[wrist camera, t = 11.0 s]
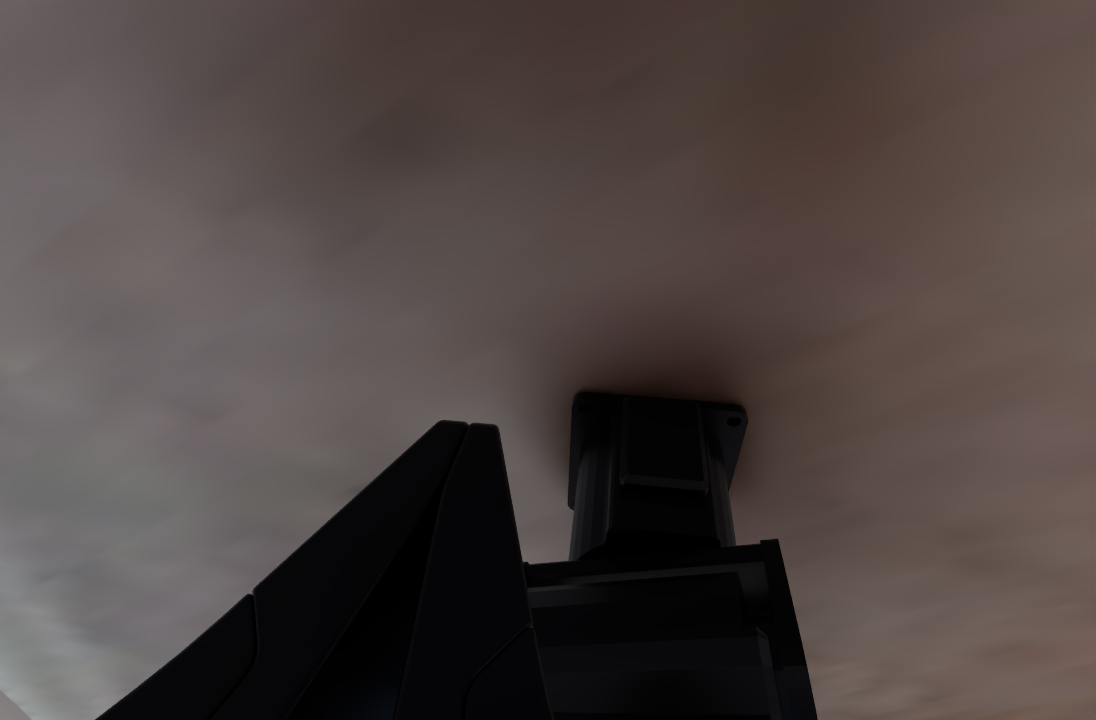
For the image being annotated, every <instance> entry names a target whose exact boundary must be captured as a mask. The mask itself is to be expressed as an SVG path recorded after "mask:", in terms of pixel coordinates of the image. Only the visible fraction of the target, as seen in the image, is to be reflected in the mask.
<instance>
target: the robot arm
mask: <svg viewBox="0 0 1096 720" xmlns="http://www.w3.org/2000/svg"><path fill="white" fill-rule="evenodd" d="M585 403H586V404H589V405H590V406H589V407H585V406H582V405H581V404H585ZM730 417H738V418H736V419H732V420H731V419H728V418H730ZM747 424H748V418H747V413H746V410H745V409H744V408H743V407H742V406H740V405H736V404H725V403H713V402H701V401H690V400H678V399H666V398H654V397H643V396H631V395H619V394H608V393H596V392H580V393H578V394H577V395H576V396H575V397H574V399H573V404H572V420H571V442H570V464H569V486H568V506H569V507H570V509H572V510H574V516H573V525H572V534H571V543H570V552H569V561H561V562H550V563H539V564H529V563H528V562H523V561H522V556H521V550H520V544H519V539H518V533H517V527H516V522H515V516H514V511H513V505H512V499H511V494H510V488H509V483H508V477H507V471H506V466H505V460H504V455H503V449H502V443H501V438H500V432H499V428H498V426H497V425H494V424H484V423H472V424H470V425H469V424H467V423H466V422H462V421H451V420H441V421H439V422H437V423H436V424H435V425H434V426H433V427H432V428H431V429H429V430H428V431H427V432H426V433H425V434H424V435H423V436H422V437H421V438H419V439H418V440H417V441H416V442H415V443H414V444H413V445H412V446H411V447H409V448H408V449H407V450H406V451H405V452H404V453H403V454H402V455H401V456H400V457H398V458H397V459H396V460H395V461H394V462H393V463H392V464H391V465H390V466H388V467H387V468H386V469H385V470H384V471H383V472H382V473H381V474H380V475H379V476H377V477H376V478H375V479H374V480H373V481H372V482H371V483H370V484H369V485H367V486H366V487H365V488H364V489H363V490H362V491H361V492H360V493H359V494H358V495H356V496H355V497H354V498H353V499H352V500H351V501H350V502H349V503H348V504H346V505H345V506H344V507H343V508H342V509H341V510H340V511H339V512H338V513H337V514H335V515H334V516H333V517H332V518H331V519H330V520H329V521H328V522H327V523H325V524H324V525H323V526H322V527H321V528H320V529H319V530H318V531H317V532H316V533H314V534H313V535H312V536H311V537H310V538H309V539H308V540H307V541H306V542H304V543H303V544H302V545H301V546H300V547H299V548H298V549H297V550H296V551H295V552H293V553H292V554H291V555H290V556H289V557H288V558H287V559H286V560H285V561H283V562H282V563H281V564H280V565H279V566H278V567H277V568H276V569H275V570H273V571H272V572H271V573H270V574H269V575H268V576H267V577H266V578H265V579H264V580H262V581H261V582H260V583H259V584H258V585H257V586H256V587H255V588H254V589H253V591H252V593H253V595H252V594H247V595H246V596H244V597H243V598H242V599H241V600H240V601H239V602H238V603H237V604H236V605H234V606H233V607H232V608H231V609H230V610H229V611H228V612H227V613H226V614H224V615H223V616H222V617H221V618H220V619H219V620H218V621H216V622H215V623H214V624H213V625H212V626H211V627H210V628H208V629H207V630H206V631H205V632H204V633H203V634H201V635H200V636H199V637H198V638H197V639H196V640H195V641H193V642H192V643H191V644H190V645H189V646H188V647H186V648H185V649H184V650H183V651H182V652H181V653H179V654H178V655H177V656H176V657H174V658H173V659H172V660H171V661H169V662H168V663H167V664H166V665H164V666H163V667H162V668H161V669H159V670H158V671H157V672H156V673H154V674H153V675H152V676H151V677H149V678H148V679H147V680H146V681H144V682H143V683H142V684H141V685H139V686H138V687H137V688H135V689H134V690H133V691H132V692H130V693H129V694H128V695H126V696H125V697H124V698H123V699H121V700H120V701H119V702H117V703H116V704H115V705H113V706H112V707H111V708H110V709H108V710H107V711H106V712H104V713H103V714H102V715H100V716H99V717H98V718H97V719H95V720H818V719H817V714H816V708H815V703H814V698H813V693H812V688H811V683H810V679H809V674H808V669H807V664H806V659H805V655H804V650H803V645H802V641H801V636H800V632H799V628H798V623H797V619H796V615H795V610H794V606H793V601H792V597H791V593H790V588H789V584H788V580H787V575H786V571H785V567H784V562H783V558H782V554H781V549H780V545H779V541H778V539H771V540H760V543H761V544H750V545H739V546H736V540H735V533H734V526H733V520H732V513H731V506H730V499H729V488H730V485H731V481H732V478H733V474H734V470H735V467H736V463H737V460H738V456H739V453H740V449H741V445H742V442H743V438H744V435H745V431H746V427H747Z"/></svg>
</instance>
